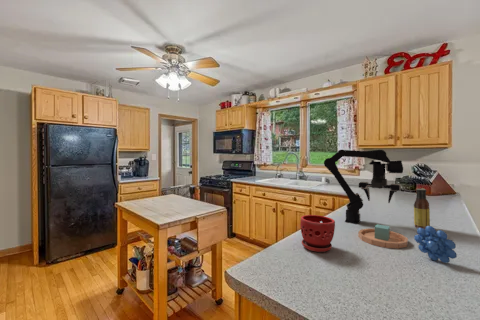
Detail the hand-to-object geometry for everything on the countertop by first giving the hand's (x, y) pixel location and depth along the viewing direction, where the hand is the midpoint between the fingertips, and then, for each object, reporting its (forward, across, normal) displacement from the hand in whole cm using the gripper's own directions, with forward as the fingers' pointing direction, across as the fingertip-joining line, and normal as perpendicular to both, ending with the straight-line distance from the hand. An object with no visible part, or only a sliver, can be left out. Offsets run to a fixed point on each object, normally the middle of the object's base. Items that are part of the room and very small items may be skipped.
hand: (378, 201), depth 121 cm
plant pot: (+12, -14, -51) cm, 54 cm away
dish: (+12, +5, -25) cm, 28 cm away
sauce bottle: (+12, +18, +6) cm, 23 cm away
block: (+11, +5, -25) cm, 28 cm away
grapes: (+12, +22, -37) cm, 45 cm away
